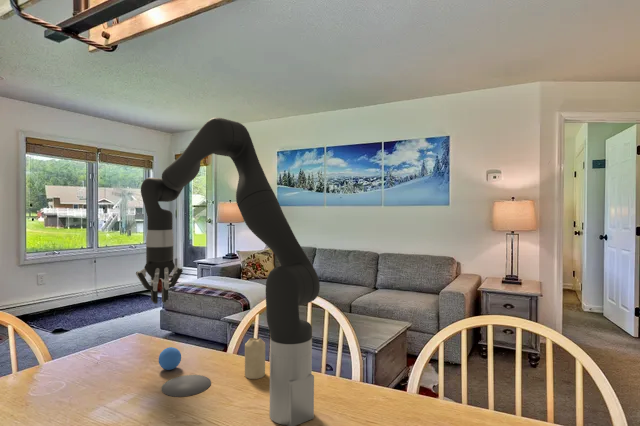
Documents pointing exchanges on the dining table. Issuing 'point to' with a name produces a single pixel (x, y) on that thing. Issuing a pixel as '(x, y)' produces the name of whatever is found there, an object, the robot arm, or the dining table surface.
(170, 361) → the ball
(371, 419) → the dining table surface
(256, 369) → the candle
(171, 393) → the disc
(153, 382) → the dining table surface
